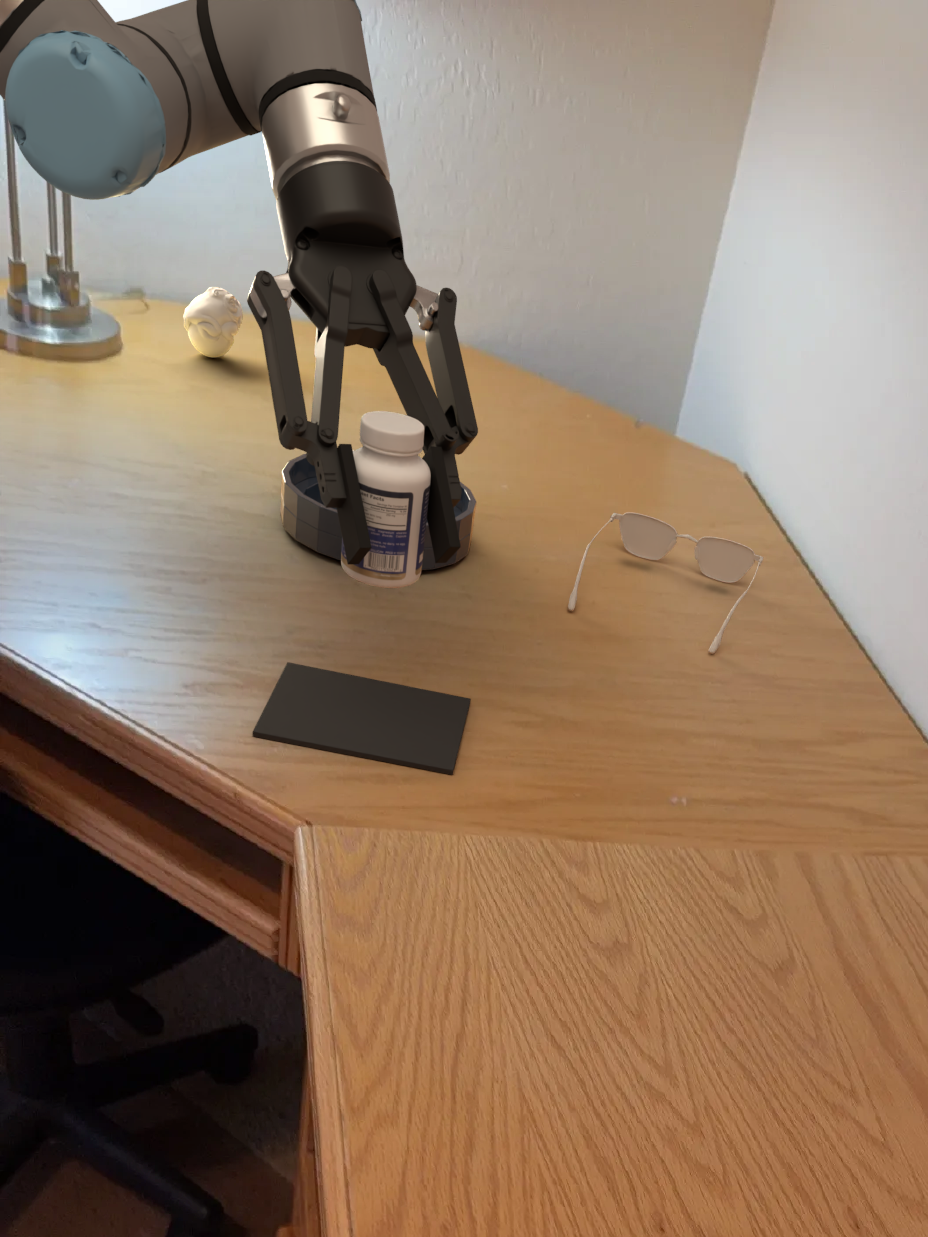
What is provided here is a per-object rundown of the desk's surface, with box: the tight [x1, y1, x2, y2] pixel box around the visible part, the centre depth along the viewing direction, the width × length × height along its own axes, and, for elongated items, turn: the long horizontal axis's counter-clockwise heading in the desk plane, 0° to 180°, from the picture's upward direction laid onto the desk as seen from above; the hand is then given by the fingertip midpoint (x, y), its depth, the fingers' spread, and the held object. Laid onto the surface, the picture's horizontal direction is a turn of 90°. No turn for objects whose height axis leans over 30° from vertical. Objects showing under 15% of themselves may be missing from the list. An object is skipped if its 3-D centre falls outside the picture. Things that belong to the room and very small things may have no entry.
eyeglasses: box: [567, 511, 764, 655], centre depth 119 cm, size 15×18×4 cm
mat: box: [252, 661, 472, 776], centre depth 93 cm, size 14×11×1 cm
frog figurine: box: [182, 286, 244, 358], centre depth 145 cm, size 6×7×7 cm
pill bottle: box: [340, 410, 431, 589], centre depth 83 cm, size 5×5×10 cm
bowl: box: [279, 449, 477, 571], centre depth 117 cm, size 17×17×4 cm
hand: (404, 555), depth 83 cm, fingers closed on pill bottle, 5 cm apart
